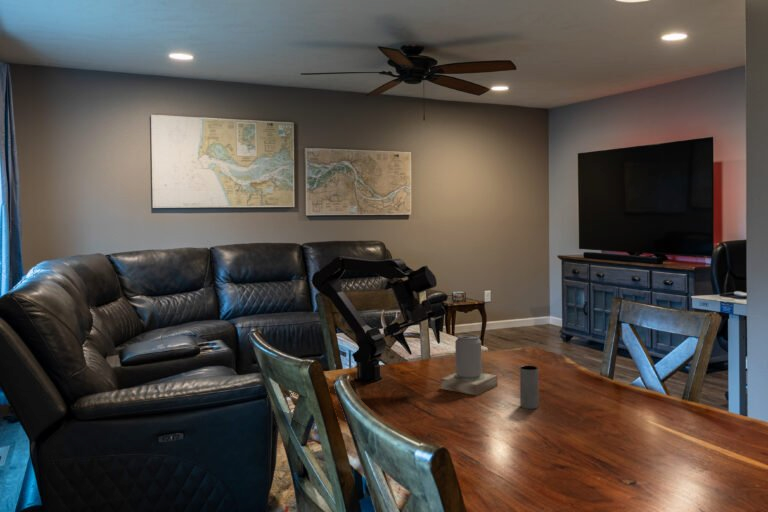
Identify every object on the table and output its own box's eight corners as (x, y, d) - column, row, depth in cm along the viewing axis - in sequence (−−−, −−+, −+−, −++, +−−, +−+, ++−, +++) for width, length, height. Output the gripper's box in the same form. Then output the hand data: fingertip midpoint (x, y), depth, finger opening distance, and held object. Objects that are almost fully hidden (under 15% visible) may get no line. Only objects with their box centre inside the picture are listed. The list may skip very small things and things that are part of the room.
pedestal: (440, 388, 178) (440, 377, 178) (462, 379, 188) (462, 369, 187) (477, 395, 171) (477, 384, 171) (497, 385, 180) (497, 374, 180)
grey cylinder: (518, 407, 159) (518, 368, 158) (523, 402, 163) (522, 364, 162) (535, 410, 157) (535, 370, 156) (540, 405, 161) (539, 366, 160)
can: (469, 371, 184) (469, 332, 183) (487, 376, 178) (486, 335, 177) (450, 375, 180) (450, 335, 179) (467, 381, 174) (467, 339, 173)
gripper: (382, 305, 172) (402, 358, 170) (441, 284, 176) (461, 335, 174) (375, 310, 182) (393, 360, 180) (431, 290, 187) (450, 338, 185)
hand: (425, 348), depth 180 cm, fingers open, 9 cm apart
